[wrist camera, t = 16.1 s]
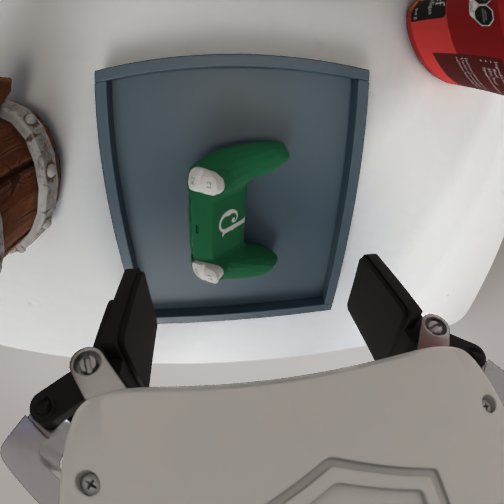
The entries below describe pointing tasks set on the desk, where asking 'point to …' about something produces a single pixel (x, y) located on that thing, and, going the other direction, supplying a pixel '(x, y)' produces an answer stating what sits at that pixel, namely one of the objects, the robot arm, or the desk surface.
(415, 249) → the desk surface
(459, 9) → the canned food
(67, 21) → the desk surface
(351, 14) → the desk surface
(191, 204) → the gaming controller
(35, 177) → the mug
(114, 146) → the tray
